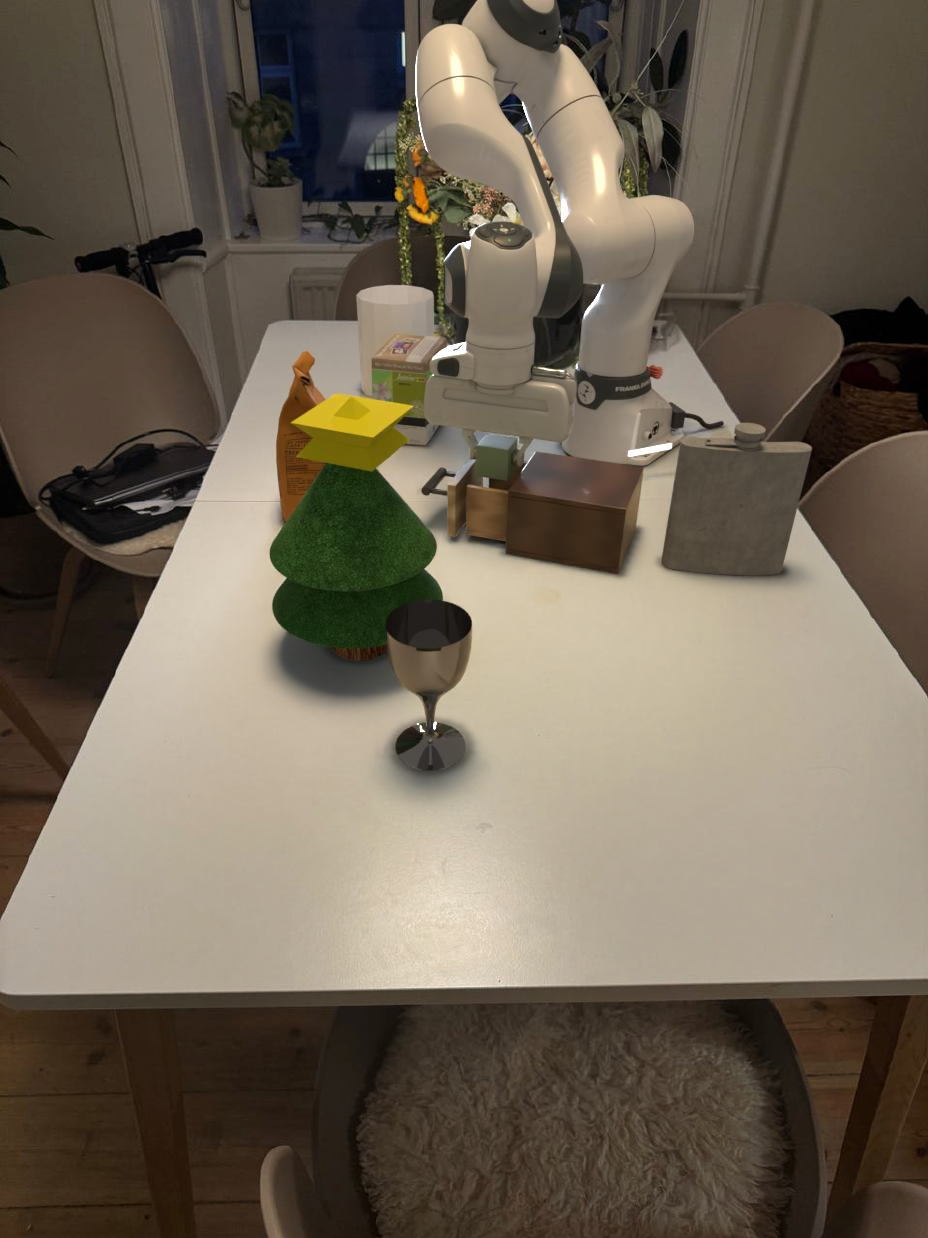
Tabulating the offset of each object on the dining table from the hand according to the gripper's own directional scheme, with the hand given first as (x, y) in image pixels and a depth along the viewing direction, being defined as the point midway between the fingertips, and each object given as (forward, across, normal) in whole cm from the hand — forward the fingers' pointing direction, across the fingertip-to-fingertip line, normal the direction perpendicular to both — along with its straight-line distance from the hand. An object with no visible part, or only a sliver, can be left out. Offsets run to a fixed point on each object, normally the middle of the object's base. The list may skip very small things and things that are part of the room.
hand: (496, 461), depth 121 cm
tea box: (+10, +25, -30) cm, 41 cm away
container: (+10, +36, -49) cm, 61 cm away
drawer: (+9, 0, 0) cm, 9 cm away
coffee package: (+10, +27, +3) cm, 29 cm away
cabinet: (+10, -12, 0) cm, 15 cm away
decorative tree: (+10, +6, +33) cm, 35 cm away
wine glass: (+10, -8, +46) cm, 48 cm away
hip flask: (+10, -32, 0) cm, 34 cm away
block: (+2, 0, 0) cm, 2 cm away
